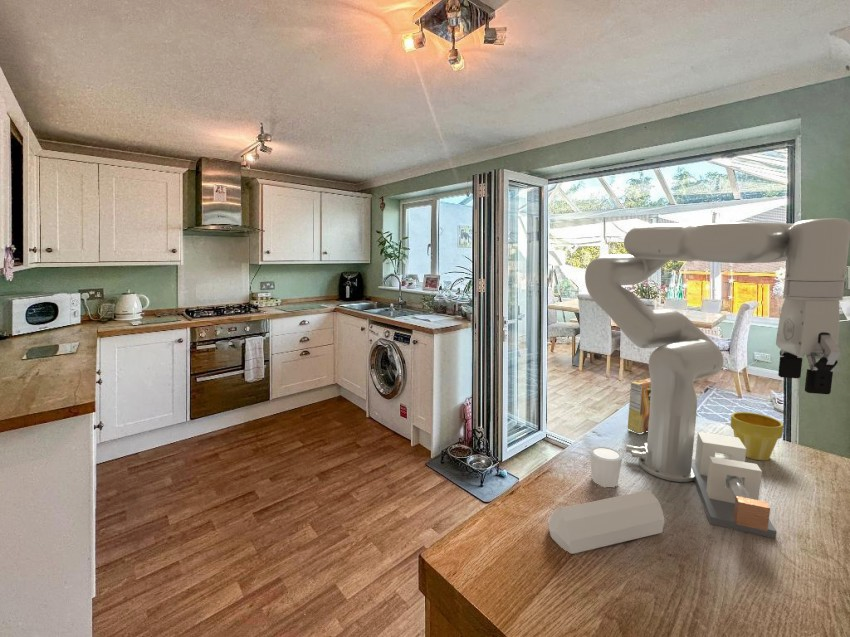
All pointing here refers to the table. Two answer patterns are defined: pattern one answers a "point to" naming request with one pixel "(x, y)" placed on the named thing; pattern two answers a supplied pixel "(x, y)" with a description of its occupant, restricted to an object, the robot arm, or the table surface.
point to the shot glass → (605, 466)
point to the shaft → (748, 506)
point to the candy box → (639, 406)
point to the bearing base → (724, 510)
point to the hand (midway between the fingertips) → (802, 384)
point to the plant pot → (756, 433)
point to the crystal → (606, 521)
